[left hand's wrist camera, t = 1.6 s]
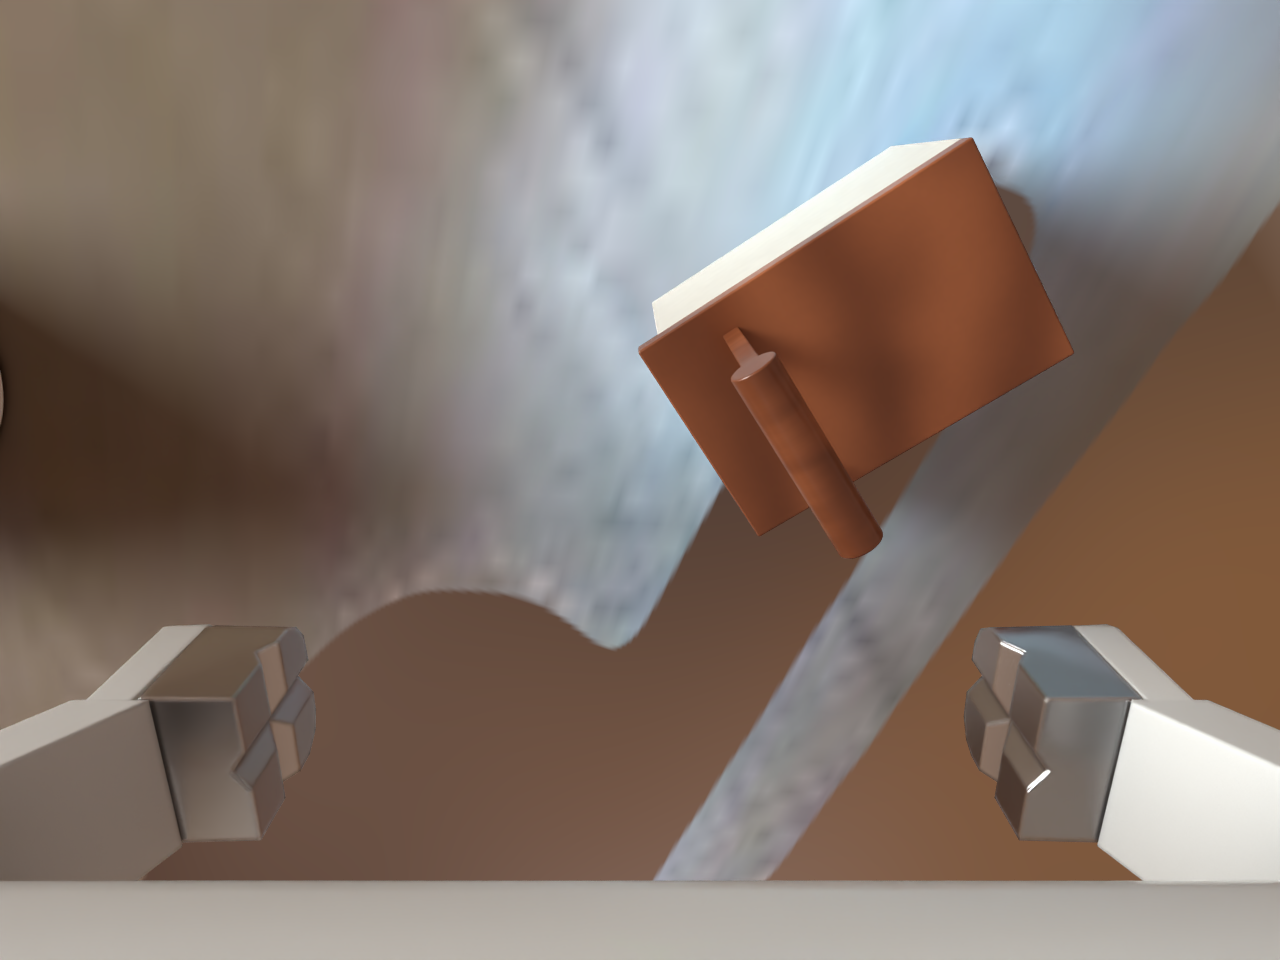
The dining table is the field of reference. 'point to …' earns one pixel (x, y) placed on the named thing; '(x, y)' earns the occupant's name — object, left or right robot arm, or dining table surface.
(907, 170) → the chest
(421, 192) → the dining table surface
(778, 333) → the lid
